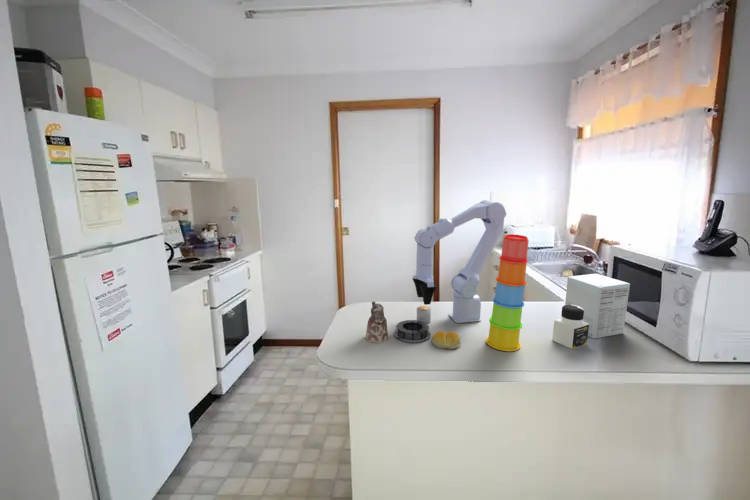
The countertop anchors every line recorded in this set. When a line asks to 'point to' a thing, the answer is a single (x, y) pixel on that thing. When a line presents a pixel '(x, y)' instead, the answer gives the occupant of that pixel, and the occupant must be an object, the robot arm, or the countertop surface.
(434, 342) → the bread roll
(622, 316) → the supplement box
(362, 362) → the countertop surface
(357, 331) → the countertop surface
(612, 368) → the countertop surface
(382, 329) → the figurine
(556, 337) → the medicine bottle
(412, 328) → the toothed ring bowl
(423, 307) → the cup
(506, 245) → the stacking cups
